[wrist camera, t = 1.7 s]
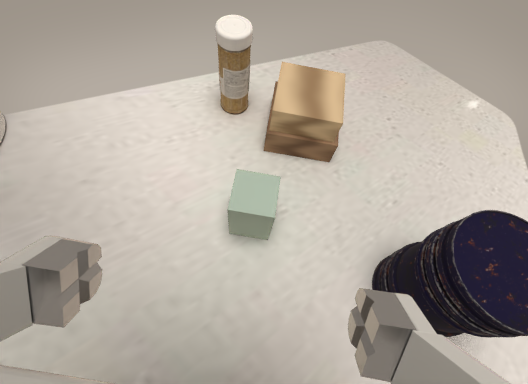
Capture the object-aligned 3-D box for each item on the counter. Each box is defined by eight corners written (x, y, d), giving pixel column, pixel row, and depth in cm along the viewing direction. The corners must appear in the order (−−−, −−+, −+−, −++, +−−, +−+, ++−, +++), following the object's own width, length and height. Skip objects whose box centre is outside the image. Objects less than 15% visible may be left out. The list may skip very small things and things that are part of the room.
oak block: (269, 130, 40) (272, 110, 36) (278, 84, 44) (282, 61, 40) (333, 142, 40) (342, 123, 36) (336, 95, 44) (345, 73, 40)
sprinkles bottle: (224, 91, 48) (220, 9, 36) (251, 96, 48) (256, 16, 36) (217, 112, 46) (210, 33, 34) (245, 117, 46) (248, 40, 34)
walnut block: (263, 151, 43) (266, 133, 39) (272, 102, 48) (275, 81, 44) (328, 163, 44) (337, 145, 40) (331, 113, 48) (340, 92, 44)
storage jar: (356, 267, 37) (426, 230, 23) (418, 241, 39) (514, 194, 25) (399, 351, 33) (512, 363, 19) (465, 316, 35) (606, 306, 22)
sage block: (229, 233, 37) (227, 209, 30) (236, 198, 39) (236, 169, 32) (267, 239, 37) (274, 217, 30) (272, 205, 39) (280, 176, 32)
